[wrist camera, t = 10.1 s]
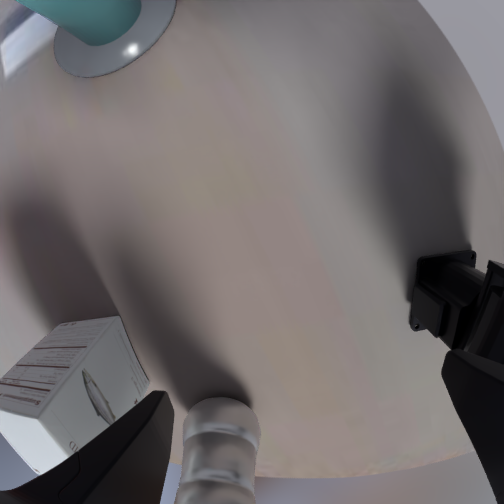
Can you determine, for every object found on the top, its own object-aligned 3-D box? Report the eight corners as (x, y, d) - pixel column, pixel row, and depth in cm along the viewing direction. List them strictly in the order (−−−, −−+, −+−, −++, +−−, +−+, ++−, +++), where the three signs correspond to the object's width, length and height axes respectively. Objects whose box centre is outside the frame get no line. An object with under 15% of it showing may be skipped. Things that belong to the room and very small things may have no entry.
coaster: (176, -42, 14) (175, -44, 13) (178, 55, 16) (176, 53, 16) (64, -2, 14) (62, -3, 13) (52, 95, 17) (49, 95, 16)
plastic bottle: (184, 384, 23) (129, 601, 4) (262, 388, 23) (271, 619, 4) (191, 429, 25) (157, 607, 6) (258, 433, 25) (262, 617, 6)
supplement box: (152, 383, 23) (107, 497, 11) (90, 384, 24) (33, 474, 12) (122, 312, 21) (37, 420, 9) (58, 320, 22) (-26, 401, 10)
